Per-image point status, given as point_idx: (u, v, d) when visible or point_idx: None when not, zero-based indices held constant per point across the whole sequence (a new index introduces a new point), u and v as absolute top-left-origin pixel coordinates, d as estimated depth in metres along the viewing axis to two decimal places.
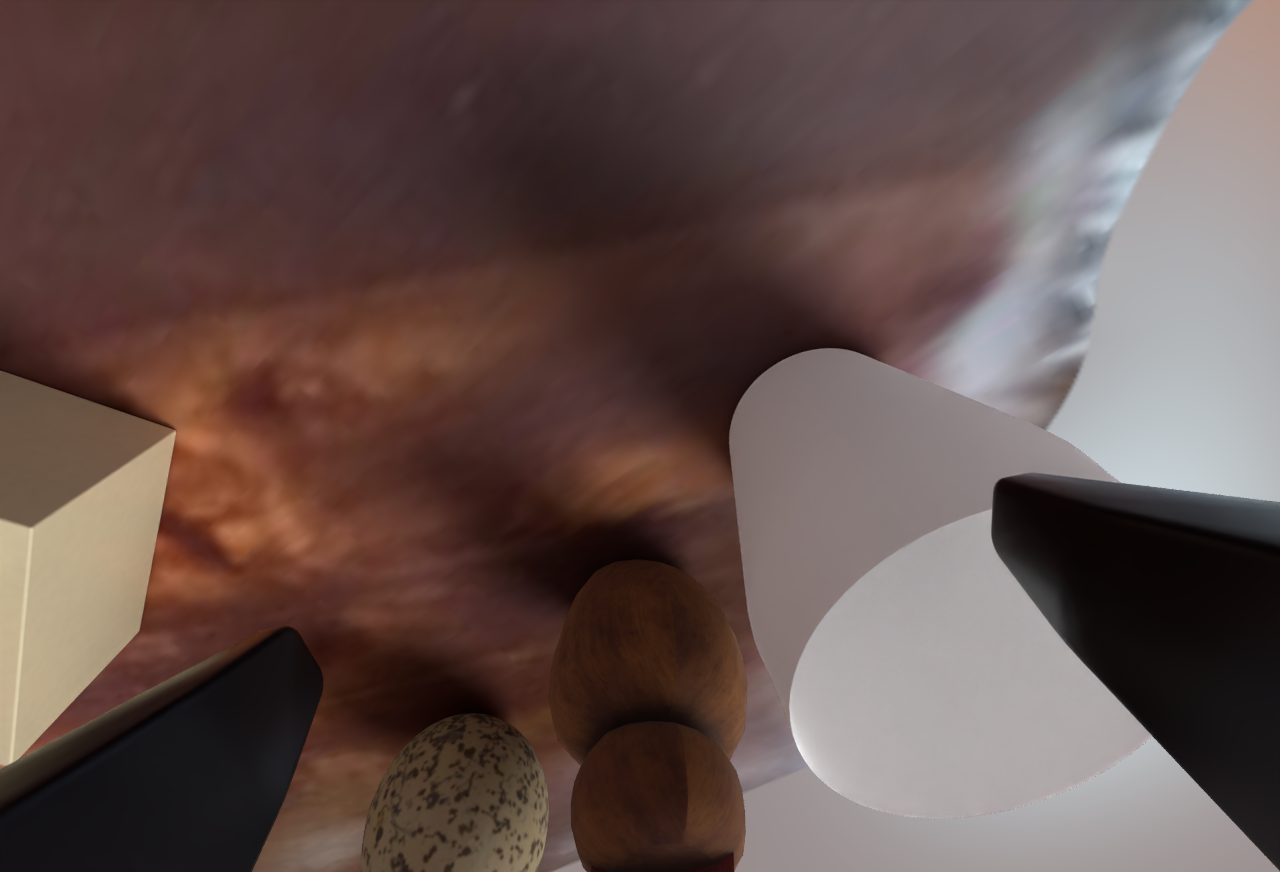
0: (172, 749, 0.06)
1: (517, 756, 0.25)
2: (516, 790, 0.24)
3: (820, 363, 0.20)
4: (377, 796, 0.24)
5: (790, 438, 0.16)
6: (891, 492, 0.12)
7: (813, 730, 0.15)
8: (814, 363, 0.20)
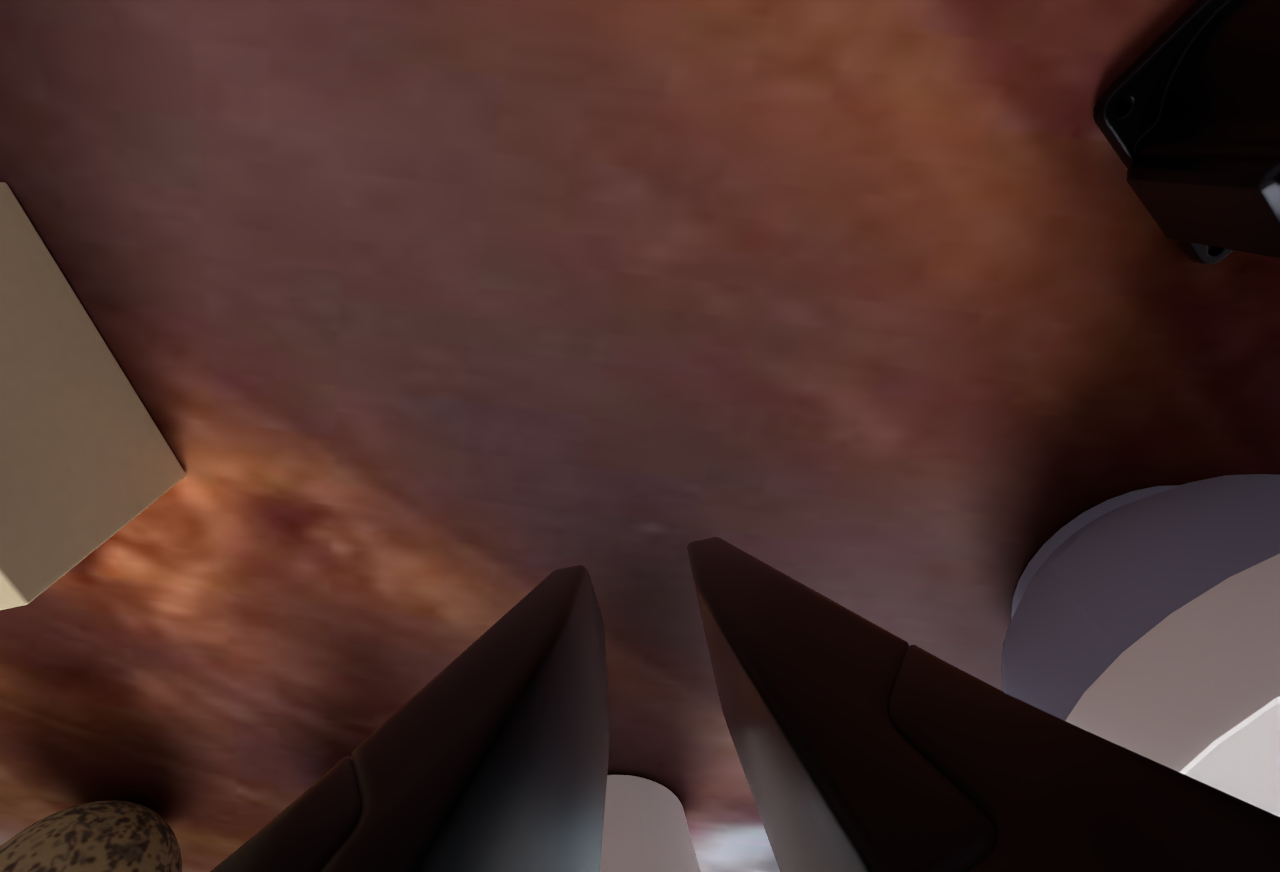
0: (553, 673, 0.06)
1: None
2: None
3: (665, 825, 0.26)
4: None
5: None
6: None
7: None
8: (661, 821, 0.26)
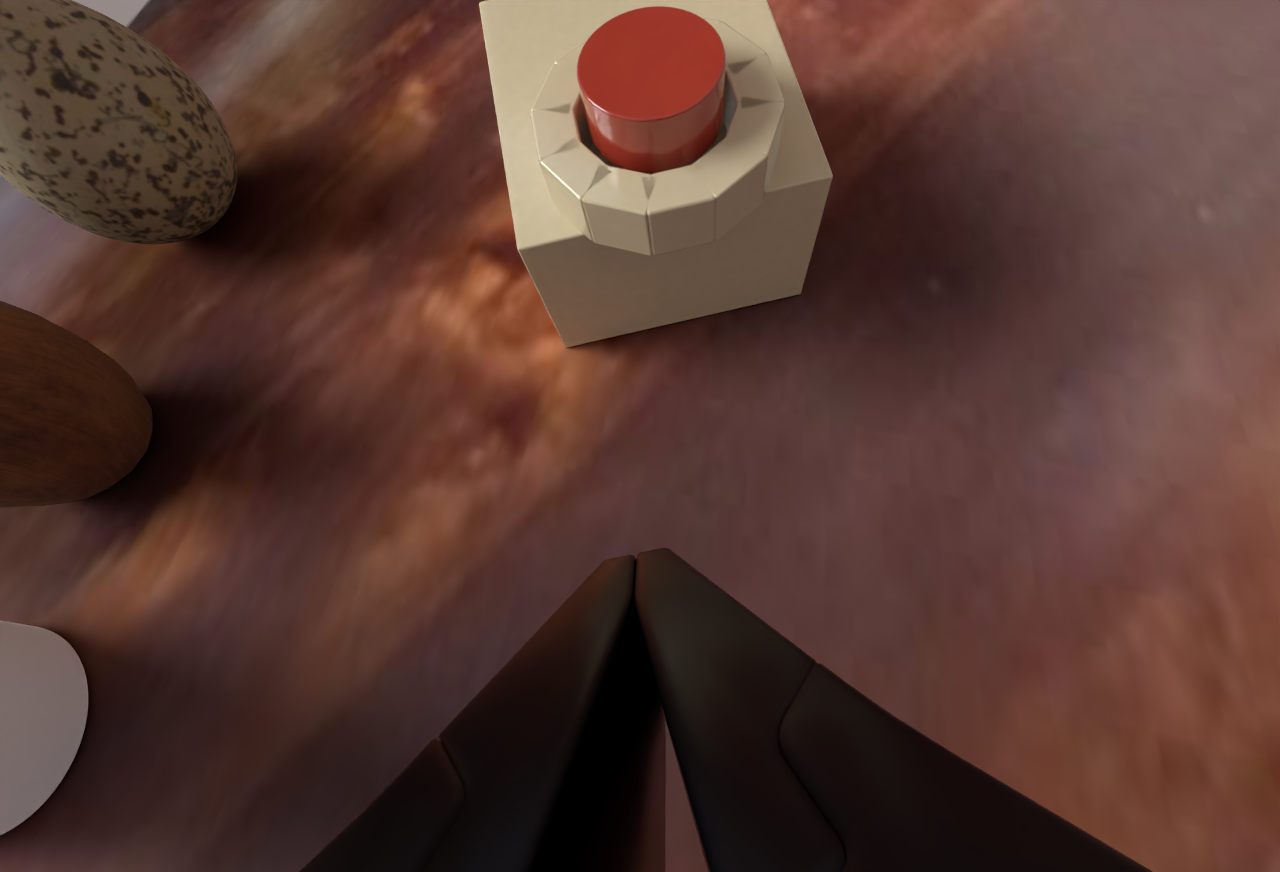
0: None
1: (98, 230, 0.23)
2: (57, 205, 0.21)
3: None
4: (195, 123, 0.22)
5: None
6: None
7: None
8: None
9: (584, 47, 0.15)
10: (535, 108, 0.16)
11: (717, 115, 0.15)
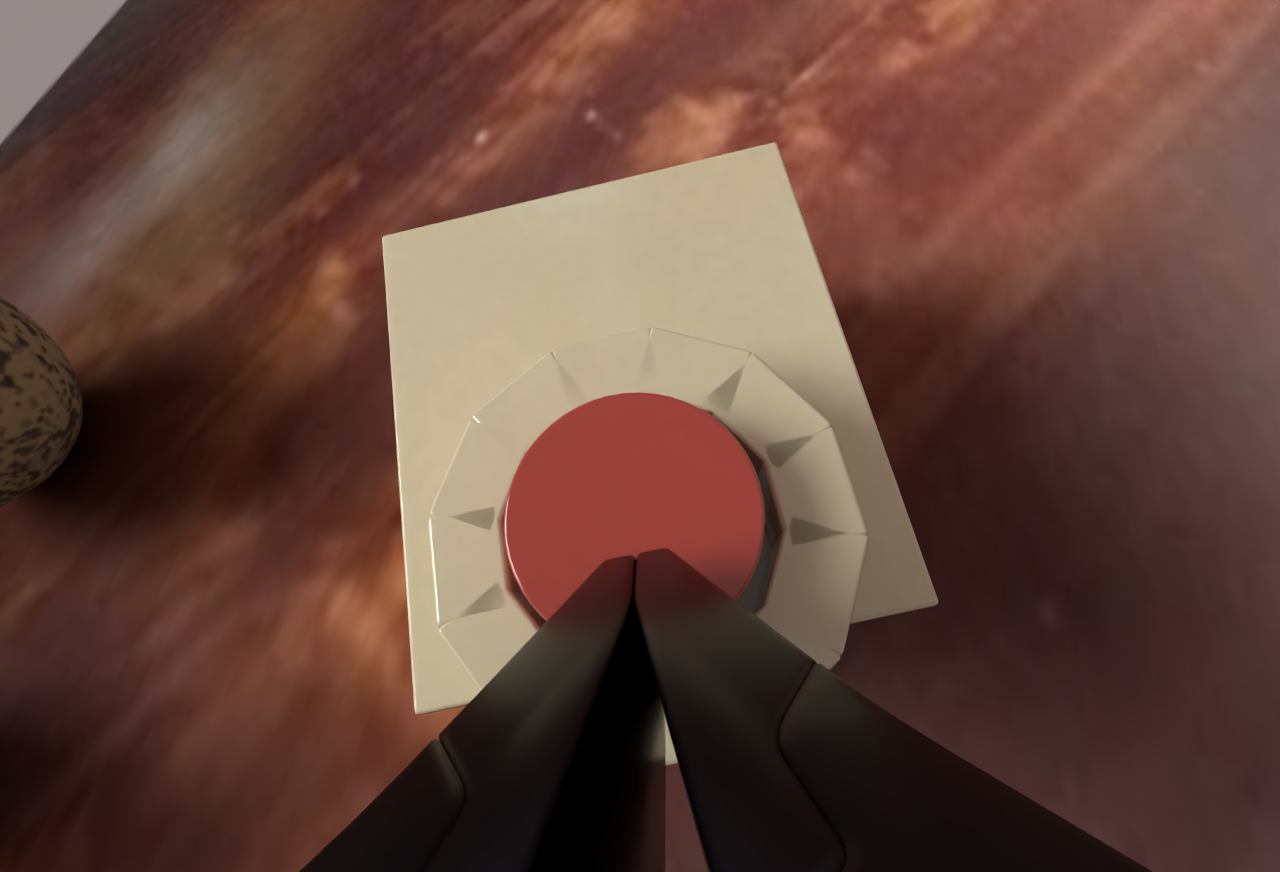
0: None
1: None
2: None
3: None
4: None
5: None
6: None
7: None
8: None
9: (518, 473, 0.09)
10: (435, 514, 0.10)
11: None
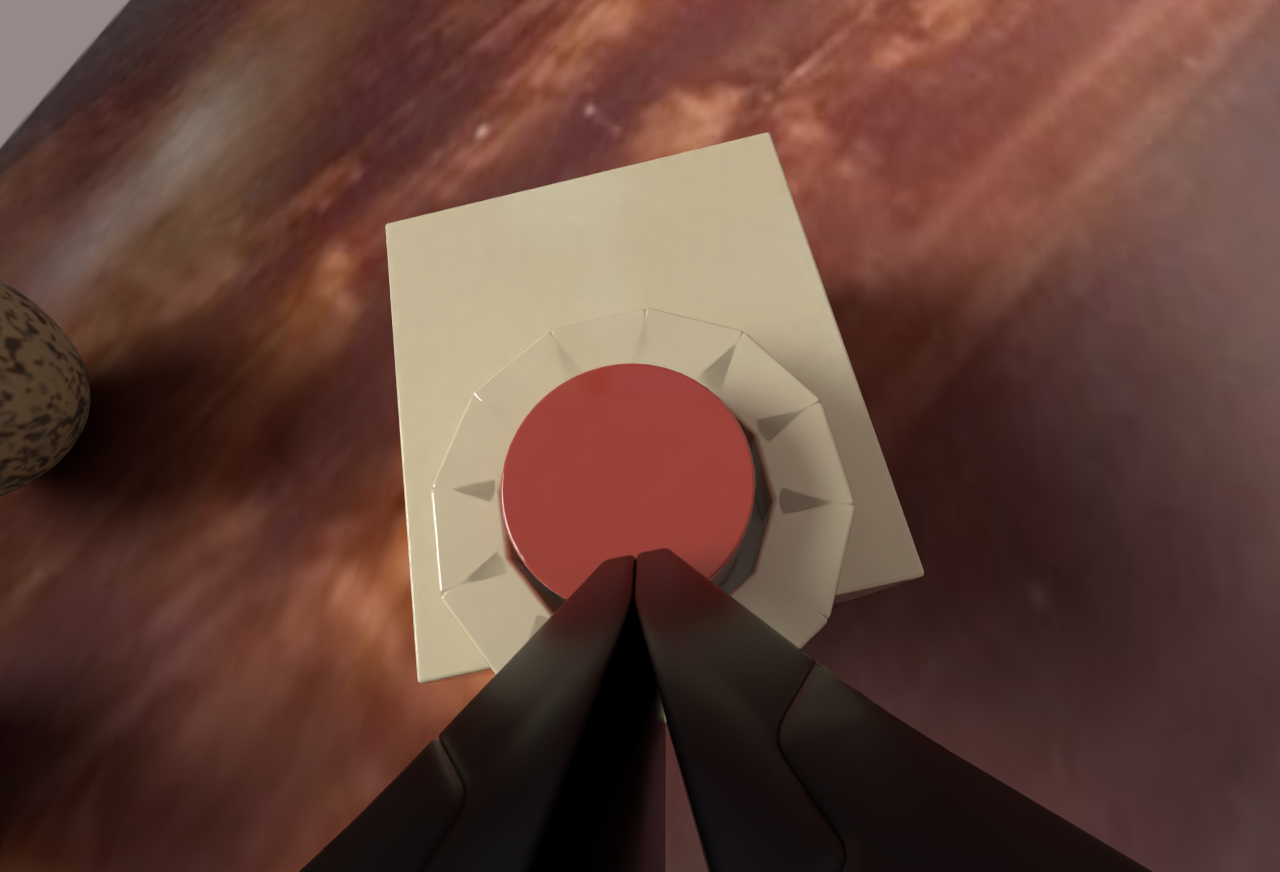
0: None
1: None
2: None
3: None
4: (0, 368, 0.16)
5: None
6: None
7: None
8: None
9: (515, 441, 0.09)
10: (438, 486, 0.10)
11: (740, 548, 0.09)
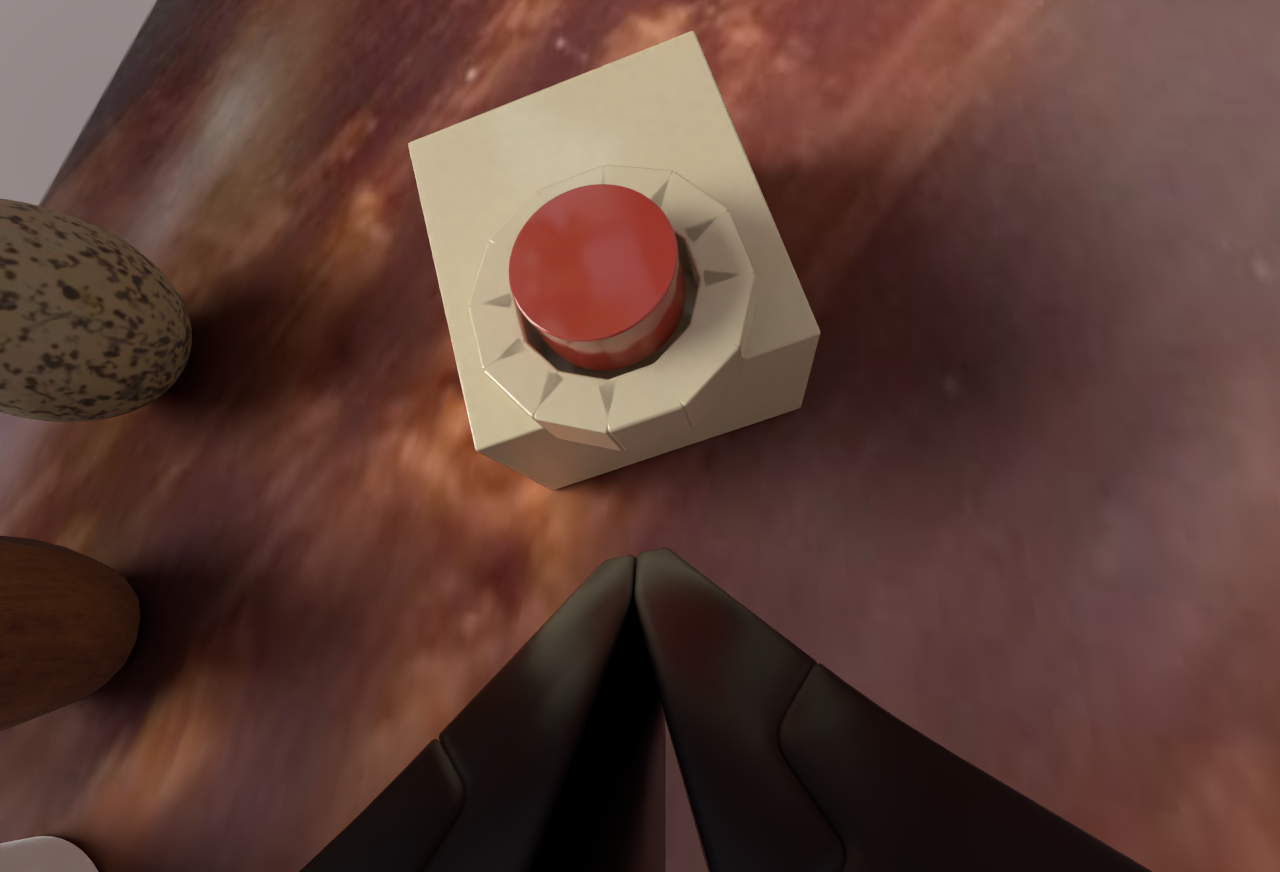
0: None
1: (53, 420, 0.22)
2: (3, 410, 0.20)
3: None
4: (132, 298, 0.21)
5: None
6: None
7: None
8: None
9: (515, 246, 0.13)
10: (472, 303, 0.14)
11: (676, 305, 0.13)
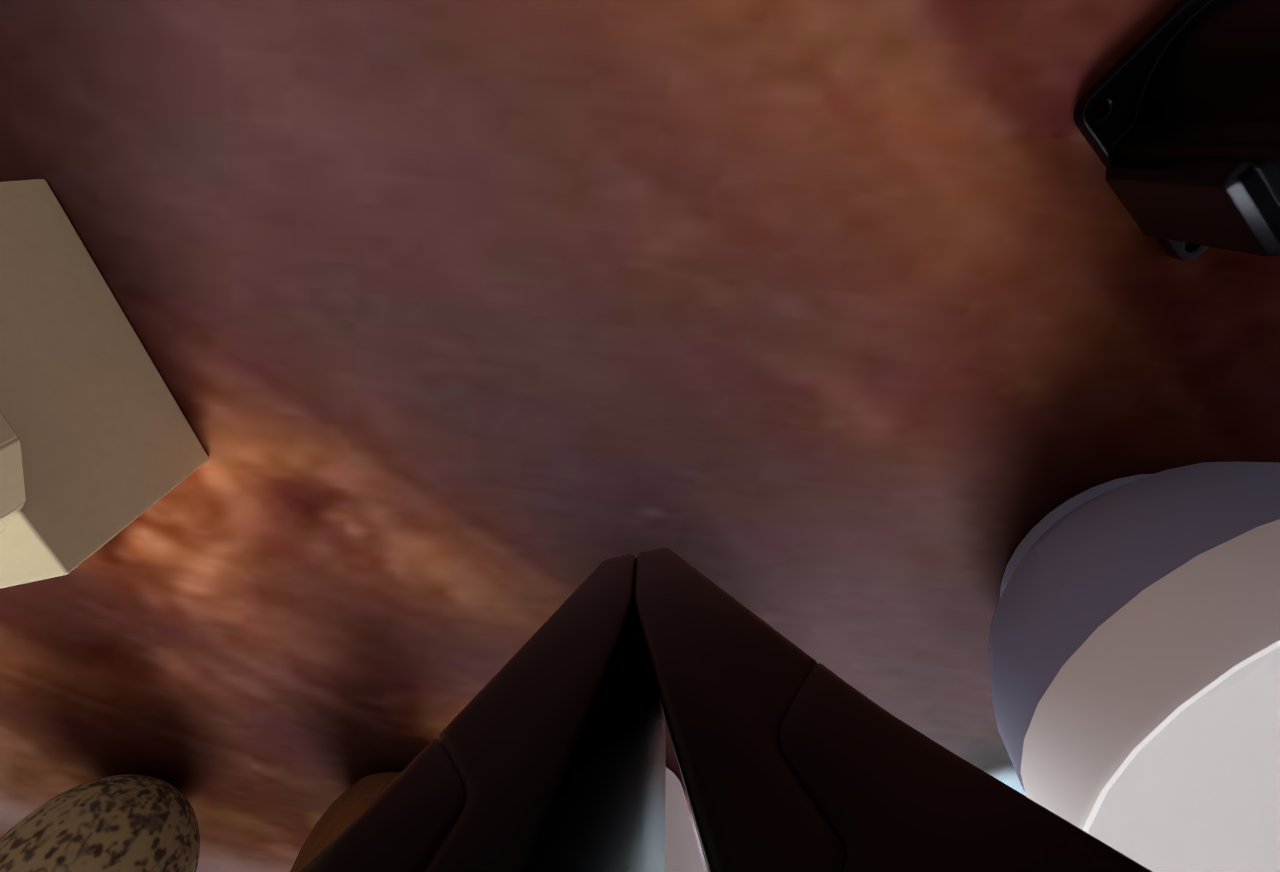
0: None
1: (190, 871, 0.25)
2: None
3: None
4: (35, 844, 0.22)
5: None
6: None
7: None
8: None
9: None
10: None
11: None
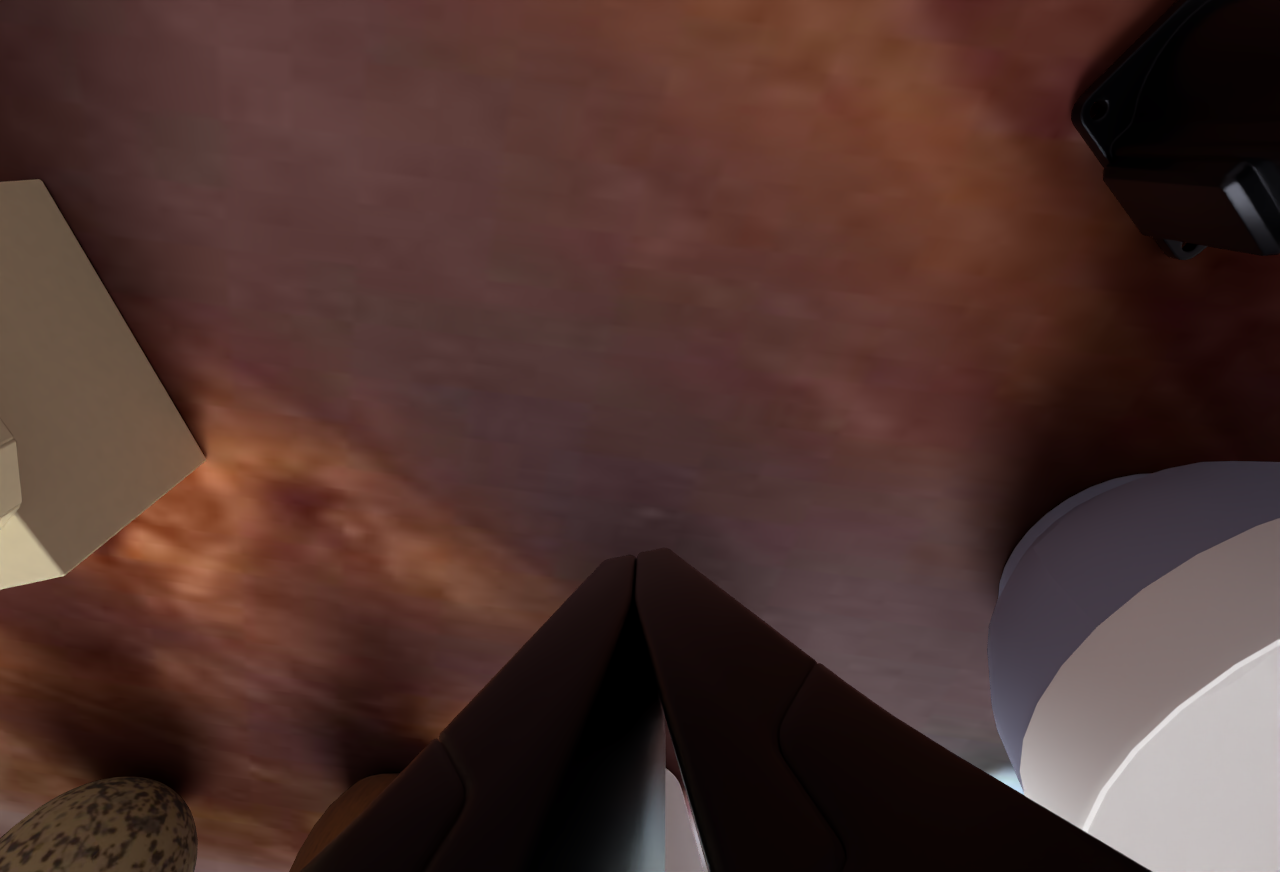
0: None
1: None
2: None
3: None
4: (32, 847, 0.22)
5: None
6: None
7: None
8: None
9: None
10: None
11: None
